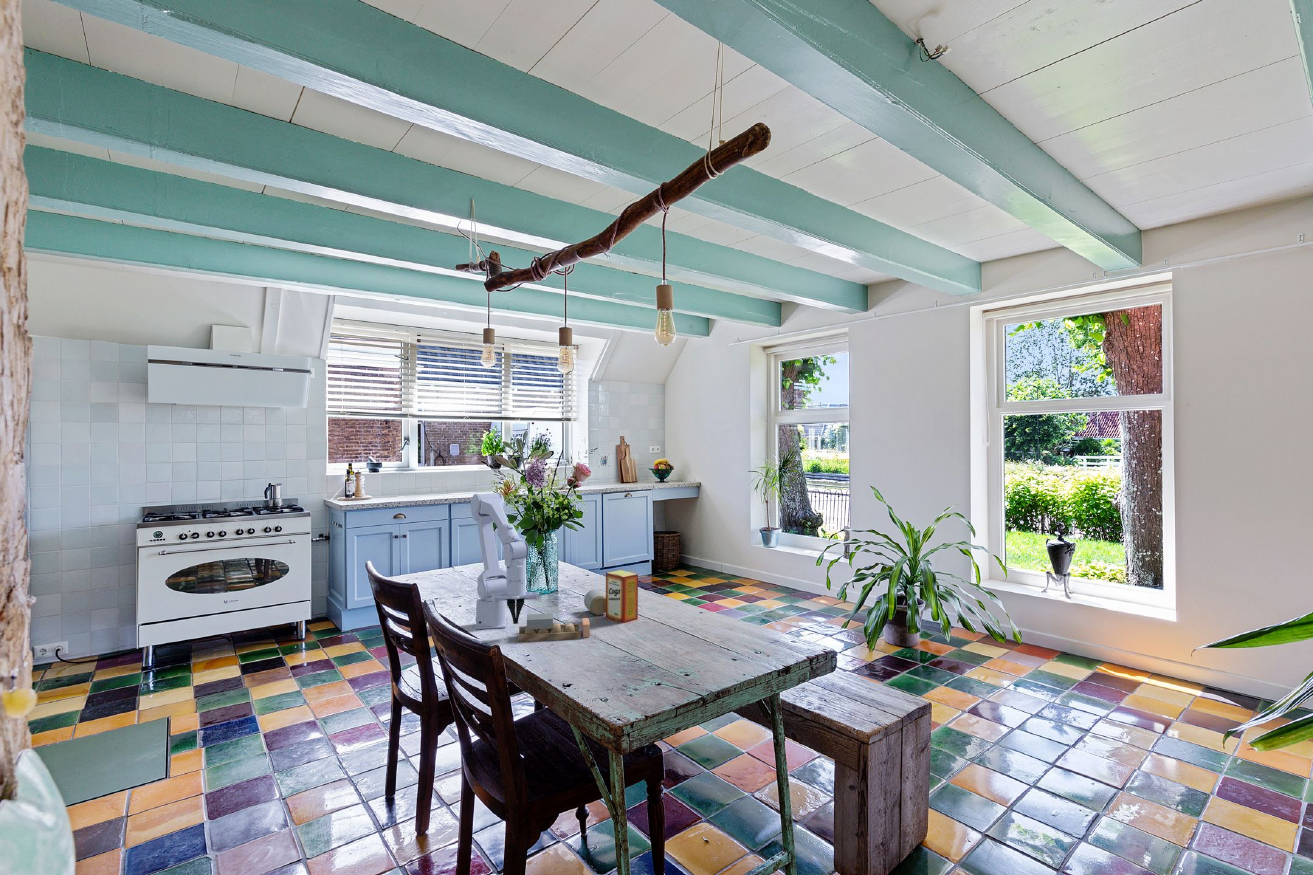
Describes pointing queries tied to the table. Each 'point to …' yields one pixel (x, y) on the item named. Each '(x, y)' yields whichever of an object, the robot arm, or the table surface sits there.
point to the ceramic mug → (595, 602)
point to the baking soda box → (622, 596)
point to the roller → (569, 627)
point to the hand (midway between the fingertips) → (515, 622)
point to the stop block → (585, 627)
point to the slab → (539, 621)
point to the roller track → (544, 634)
